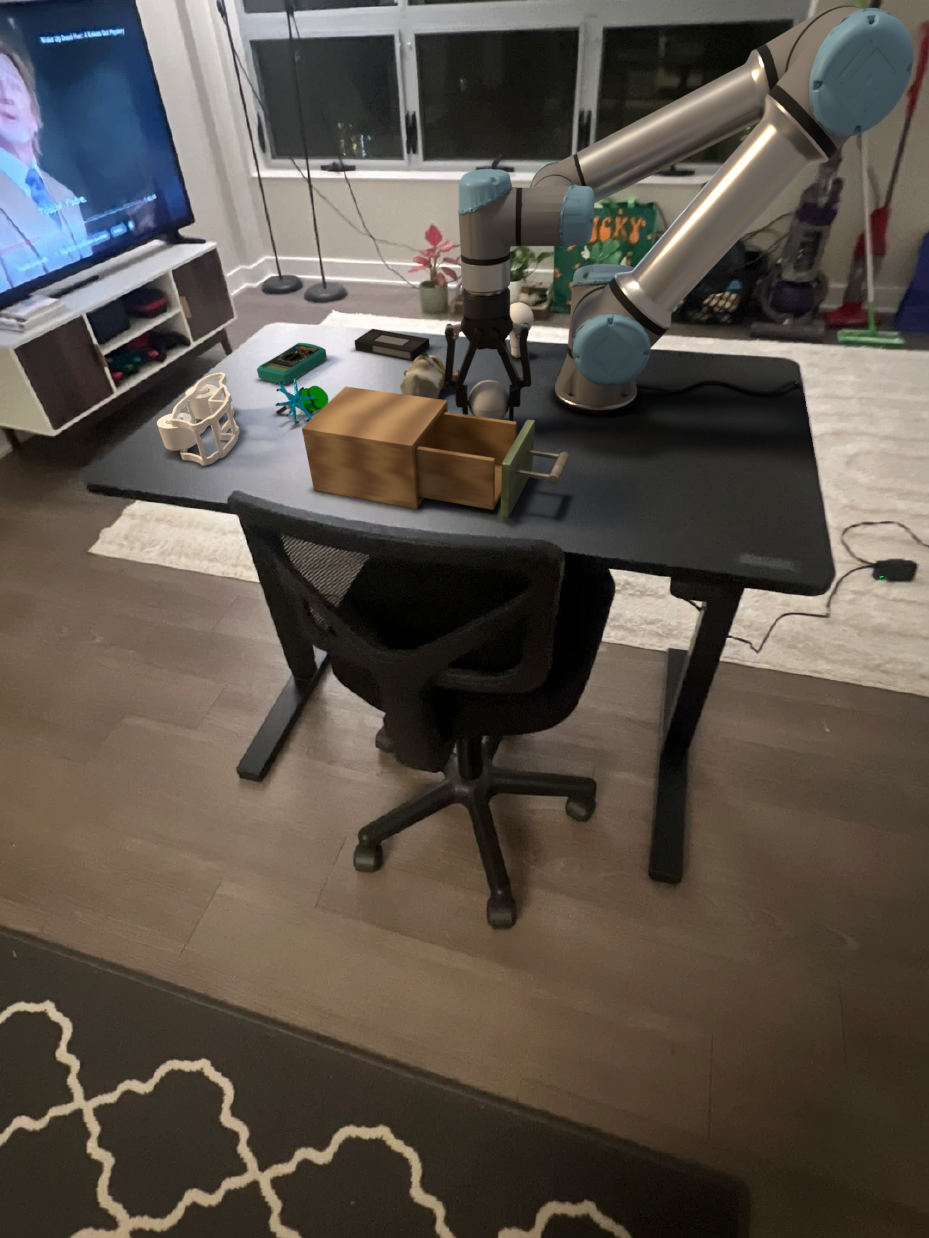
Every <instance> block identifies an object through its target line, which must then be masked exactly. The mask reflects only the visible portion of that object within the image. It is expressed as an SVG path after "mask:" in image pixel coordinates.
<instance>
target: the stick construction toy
mask: <svg viewBox="0 0 929 1238" xmlns="http://www.w3.org/2000/svg"><path fill="white" fill-rule="evenodd" d="M282 383H283V381H281V382H280V383H278V385H279V387H278V388H277V389H276V392H281V393H282V394H283V395H285V397H286V399H287V400H288V401H283V402H277V403H275V404H274V406H275V407H280V408H279V409H277V410H276V414H277V415H281V414H282V413H284V412H285V411H287V410H289V411H288V412H287V413H286V414H285V416H286V417H289V416H291V415H292V419H293V424H294V425H297V424H299V420H297V419H298V418H297V409H298V410H301V411H302V412H303V413H304V414H305V417H307V419H306V421H307V422H309V421H310V420H311V419H312V418H313V417H311V415H312V414H313V413H315V412H317V411H320V410H321V409H322V408H324V407H325V406H326V405H327V404H328V403H329V395H328V393H327V392H326V391H325V390H324V389H323V388H322V387H320V386H318V385H311V386H310V387H304V386H302V387H300V388H299V387H298V381H297V378H294V379H293V380H292V382H291V383H293V387H294V394H293V393H291V392H289V391H287V389H286V388H285V386H284V384H282ZM296 408H297V409H296Z"/></svg>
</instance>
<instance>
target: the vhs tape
mask: <svg viewBox="0 0 929 1238" xmlns="http://www.w3.org/2000/svg"><path fill="white" fill-rule="evenodd" d="M353 341H354V348H355V351H360V352H364V353H370V354H374V355H375V354H376V355H380V356H386V357H391V358H397V359H402V360H407V361H411V362H413V361H414V360H415V359H416V358H417V357H418V356H420V354H422V353H424V352H426V351H427V350H428V349H430V345H431V344H430V338H429V337H423V336H417V335H411V334H406V333H399V332H395V331H389V330H382V329H378V328H371V329H369V330H368V331H367V332H364V334H362V335H361V336H359V337H357V338H356V339H355V340H353Z"/></svg>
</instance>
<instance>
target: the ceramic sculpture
mask: <svg viewBox="0 0 929 1238" xmlns="http://www.w3.org/2000/svg"><path fill="white" fill-rule="evenodd" d="M459 371H460V369H456V370H453V376H452V377H453V378H456V379H457V377H458V374H459ZM403 376H404V378H403V379H402V381H401V383H400V385H399V388H400V391H401V394H404V395H411V396H418V397H426V398H433V399H439V396H440V392H441V390H442V389H446V388H447V387H445V386H444V379H445V366H444V363H443V361H442V360H441V359H440V358H439V357H438V356H436V355H433V354H432V355H431V354H428V353H427V352H426V351H424V352H423V353H422V354H420V355H419V356H418V357H417V358H415V359H414V360H413V361H412V363H411V365H410V366H409V367H408V369H407V370H404V372H403Z"/></svg>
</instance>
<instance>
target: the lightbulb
mask: <svg viewBox="0 0 929 1238" xmlns="http://www.w3.org/2000/svg"><path fill="white" fill-rule="evenodd" d="M510 316H511V319H512V321H513V323H517V324H523V323H528V324H529V331H531V328H532V326H533V325H534V313H533V310H532V309H531V307H530V306H529V305H528V304H526V303H524V302H519V301H518V302H514V303H511V304H510ZM508 337H509V345H510V355H511V357H514V358H516V359H519V358H521V356H520V348H519V339H517V338H516V337H515V333H514V332H513V331H511V333H510V334H509V335H508Z"/></svg>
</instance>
